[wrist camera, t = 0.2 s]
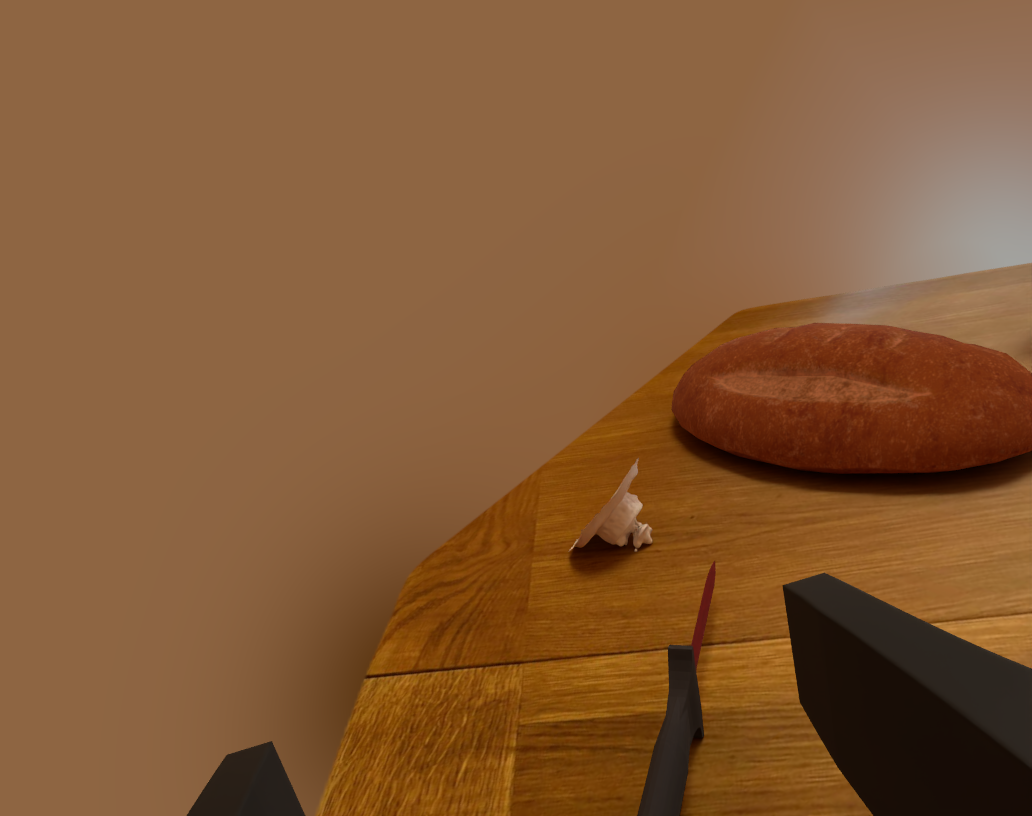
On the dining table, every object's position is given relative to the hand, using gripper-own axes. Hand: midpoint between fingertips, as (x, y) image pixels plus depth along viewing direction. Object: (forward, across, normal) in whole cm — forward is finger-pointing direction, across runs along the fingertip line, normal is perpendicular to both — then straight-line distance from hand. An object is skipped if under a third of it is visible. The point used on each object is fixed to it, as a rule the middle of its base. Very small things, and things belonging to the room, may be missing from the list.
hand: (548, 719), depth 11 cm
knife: (+22, -6, +23) cm, 32 cm away
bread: (+52, -31, +25) cm, 65 cm away
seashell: (+42, -8, +24) cm, 49 cm away
